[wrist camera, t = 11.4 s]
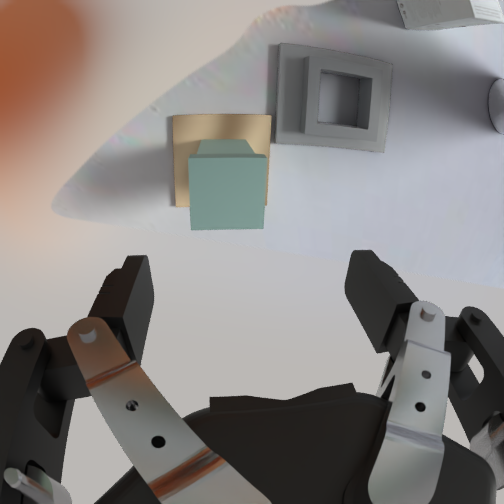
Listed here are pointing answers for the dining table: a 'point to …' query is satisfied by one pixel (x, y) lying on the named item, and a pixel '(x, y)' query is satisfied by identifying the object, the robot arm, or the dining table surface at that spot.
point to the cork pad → (214, 127)
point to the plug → (227, 185)
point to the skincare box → (449, 13)
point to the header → (307, 99)
